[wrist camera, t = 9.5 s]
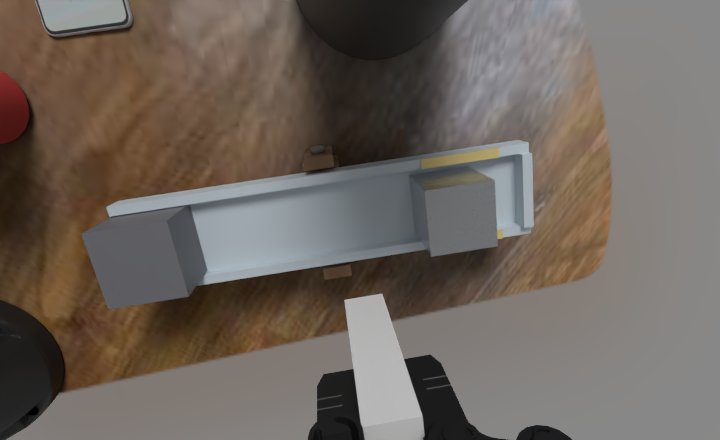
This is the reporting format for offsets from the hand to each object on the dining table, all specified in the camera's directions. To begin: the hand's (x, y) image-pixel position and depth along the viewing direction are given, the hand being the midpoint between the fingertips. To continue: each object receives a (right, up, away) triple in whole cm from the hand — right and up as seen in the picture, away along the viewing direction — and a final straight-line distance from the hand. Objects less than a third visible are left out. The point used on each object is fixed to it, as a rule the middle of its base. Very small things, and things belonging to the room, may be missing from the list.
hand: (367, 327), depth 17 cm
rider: (+7, +6, +19) cm, 21 cm away
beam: (-3, +5, +20) cm, 21 cm away
